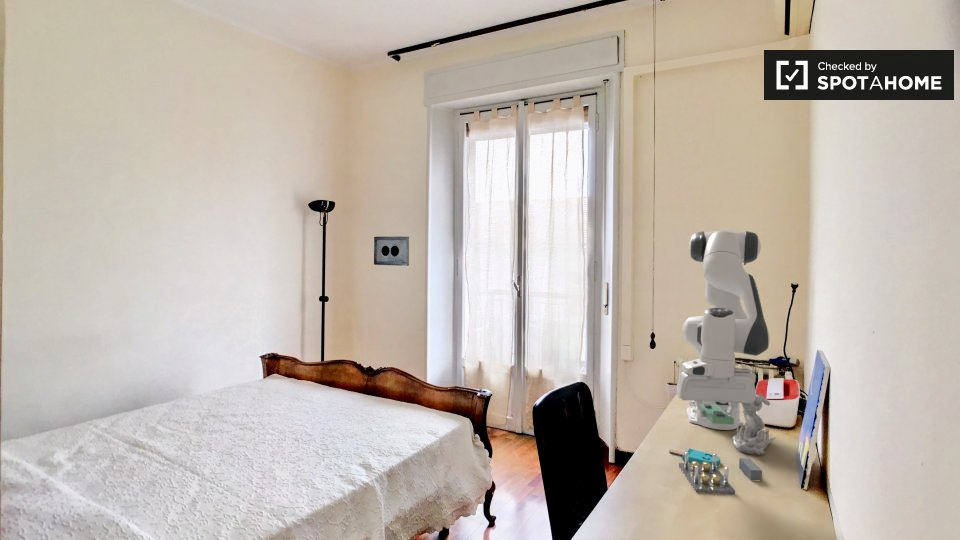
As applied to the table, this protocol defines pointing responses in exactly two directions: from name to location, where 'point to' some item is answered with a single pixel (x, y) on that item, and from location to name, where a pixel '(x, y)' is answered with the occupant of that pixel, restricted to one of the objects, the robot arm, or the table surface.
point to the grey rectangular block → (750, 469)
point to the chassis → (706, 476)
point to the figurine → (752, 429)
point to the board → (717, 414)
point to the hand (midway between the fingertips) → (714, 416)
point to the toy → (697, 456)
